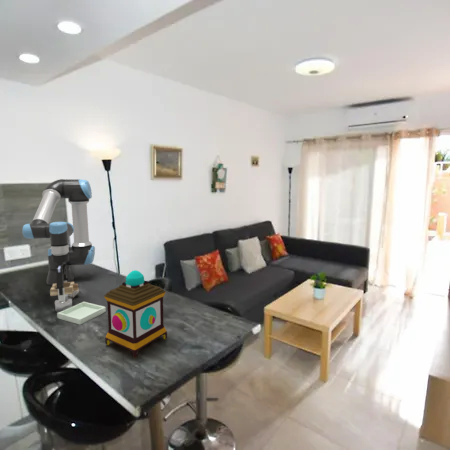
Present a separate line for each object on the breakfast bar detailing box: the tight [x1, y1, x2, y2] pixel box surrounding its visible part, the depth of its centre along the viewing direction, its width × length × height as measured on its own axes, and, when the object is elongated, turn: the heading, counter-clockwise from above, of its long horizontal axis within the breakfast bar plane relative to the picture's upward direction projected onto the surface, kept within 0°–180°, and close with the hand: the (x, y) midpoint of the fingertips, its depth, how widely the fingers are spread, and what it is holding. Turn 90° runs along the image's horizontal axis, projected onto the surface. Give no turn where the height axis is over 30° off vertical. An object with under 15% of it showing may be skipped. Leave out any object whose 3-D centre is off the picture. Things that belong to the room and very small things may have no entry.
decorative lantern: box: [103, 269, 168, 359], centre depth 117 cm, size 20×20×30 cm
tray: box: [56, 301, 107, 325], centre depth 143 cm, size 15×15×2 cm
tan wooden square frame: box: [49, 281, 79, 297], centre depth 148 cm, size 10×12×3 cm
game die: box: [68, 285, 82, 300], centre depth 163 cm, size 9×8×10 cm
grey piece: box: [54, 287, 73, 313], centre depth 148 cm, size 8×8×12 cm
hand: (63, 296), depth 149 cm, fingers closed on tan wooden square frame, 9 cm apart
